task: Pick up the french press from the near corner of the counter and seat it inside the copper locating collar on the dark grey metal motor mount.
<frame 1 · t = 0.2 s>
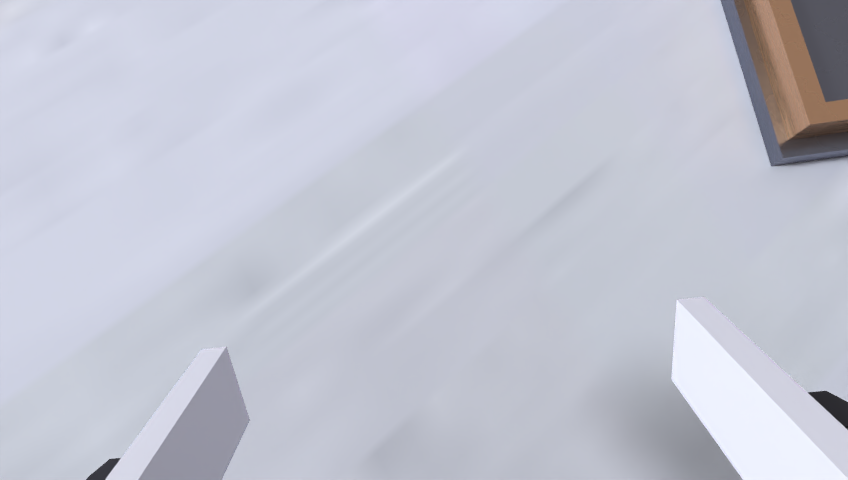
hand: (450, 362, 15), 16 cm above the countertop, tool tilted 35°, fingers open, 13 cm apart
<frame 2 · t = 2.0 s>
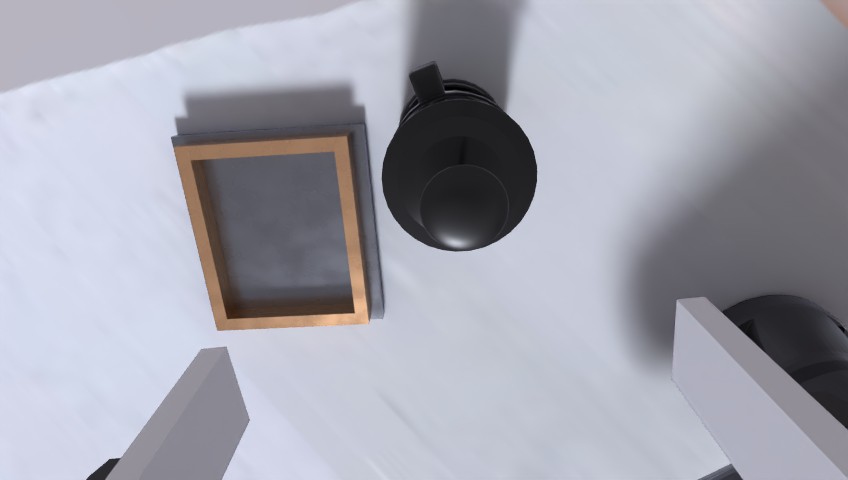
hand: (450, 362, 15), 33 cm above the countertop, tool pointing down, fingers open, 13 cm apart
french press: (449, 128, 45), on the countertop
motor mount: (287, 229, 48), on the countertop
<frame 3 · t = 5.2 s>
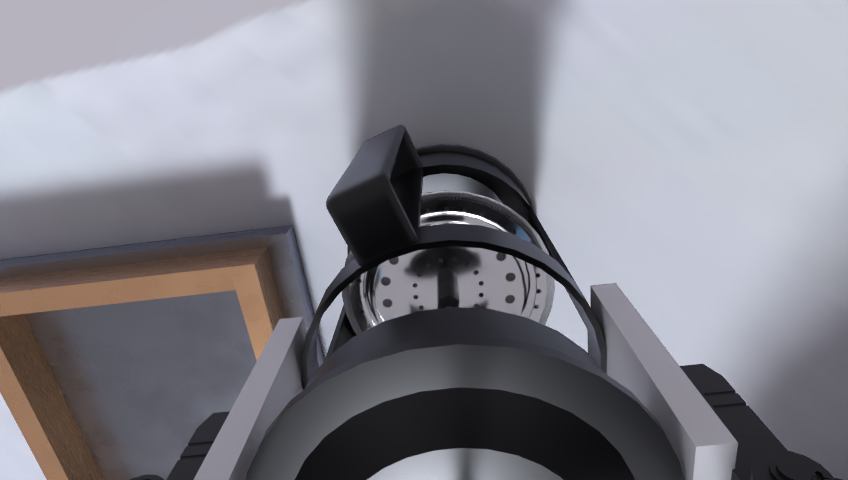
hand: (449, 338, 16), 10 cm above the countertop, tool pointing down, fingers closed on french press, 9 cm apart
french press: (440, 225, 26), on the countertop, touching gripper
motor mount: (187, 392, 30), on the countertop
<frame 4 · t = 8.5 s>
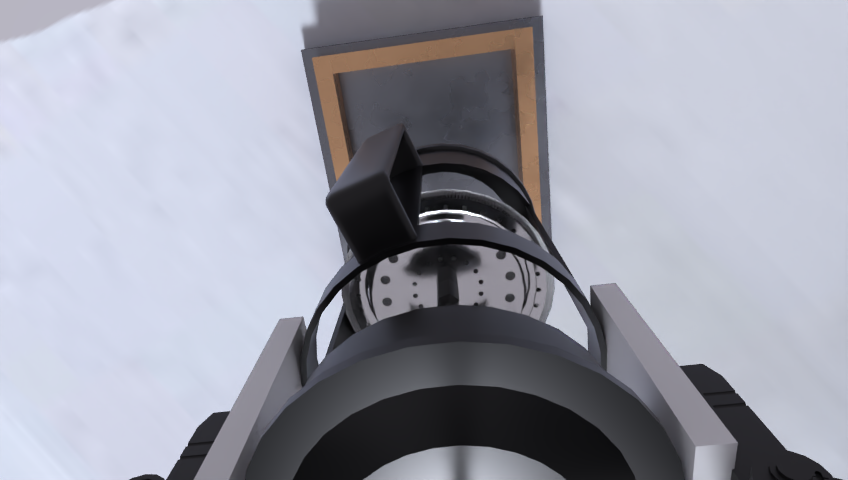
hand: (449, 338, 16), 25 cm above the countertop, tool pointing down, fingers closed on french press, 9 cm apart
french press: (439, 224, 26), point 15 cm above the countertop, touching gripper
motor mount: (436, 162, 40), on the countertop
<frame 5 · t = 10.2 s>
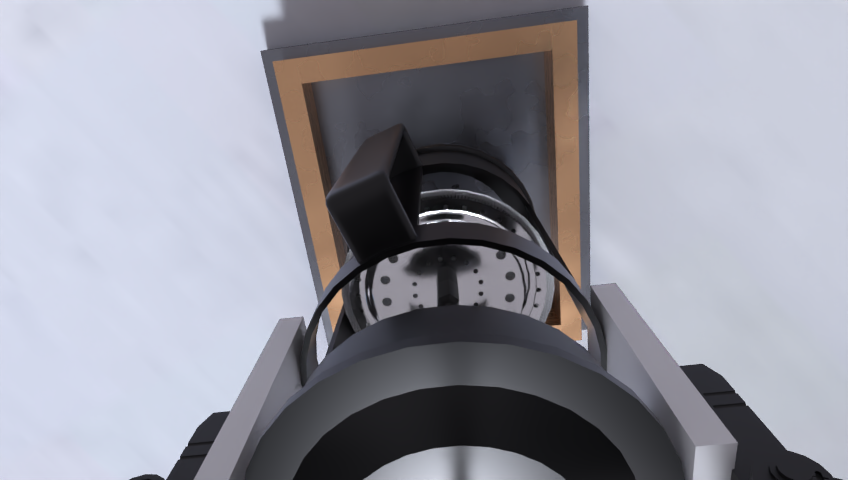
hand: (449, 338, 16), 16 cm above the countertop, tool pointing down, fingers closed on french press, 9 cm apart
french press: (439, 224, 26), point 5 cm above the countertop, touching gripper
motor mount: (441, 197, 30), on the countertop
when the fingers open (13 cm above the countertop, at t = 11.7 s): french press drops 1 cm, resting on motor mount.
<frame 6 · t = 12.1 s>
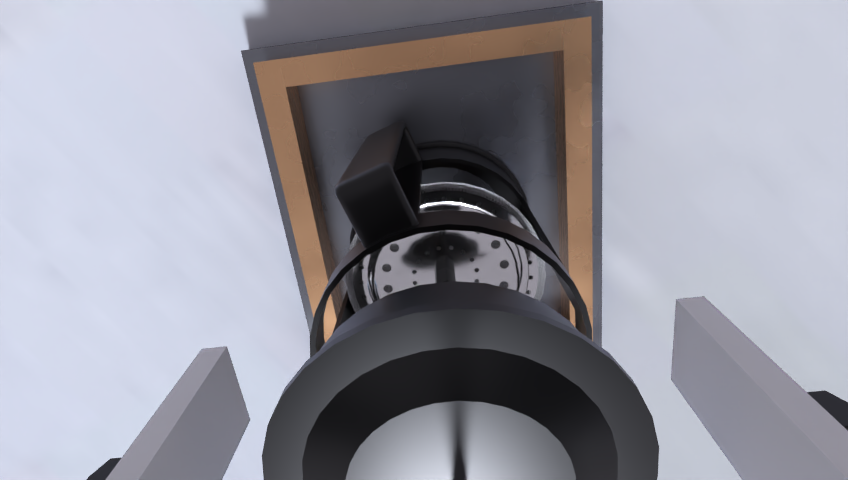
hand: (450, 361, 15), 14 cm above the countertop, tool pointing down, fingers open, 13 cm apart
french press: (437, 217, 27), point 1 cm above the countertop, touching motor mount
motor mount: (440, 210, 28), on the countertop
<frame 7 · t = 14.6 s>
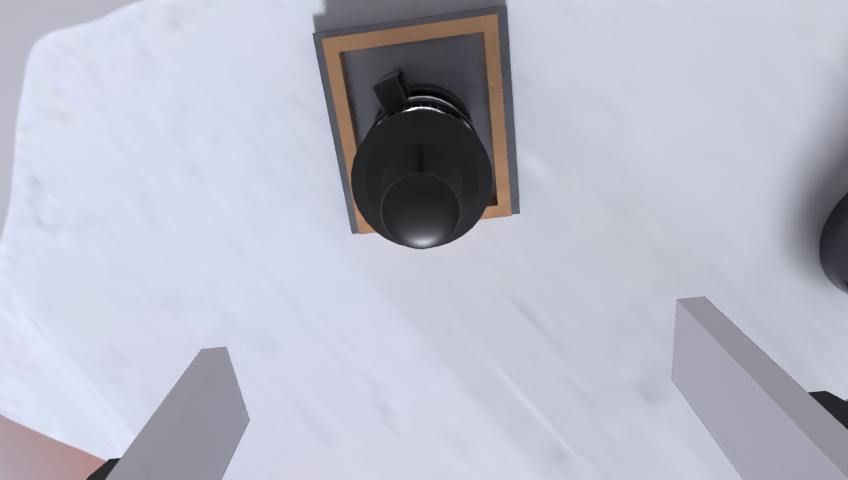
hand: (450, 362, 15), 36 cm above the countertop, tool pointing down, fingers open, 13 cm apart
french press: (420, 129, 47), point 1 cm above the countertop, touching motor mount
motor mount: (422, 127, 48), on the countertop
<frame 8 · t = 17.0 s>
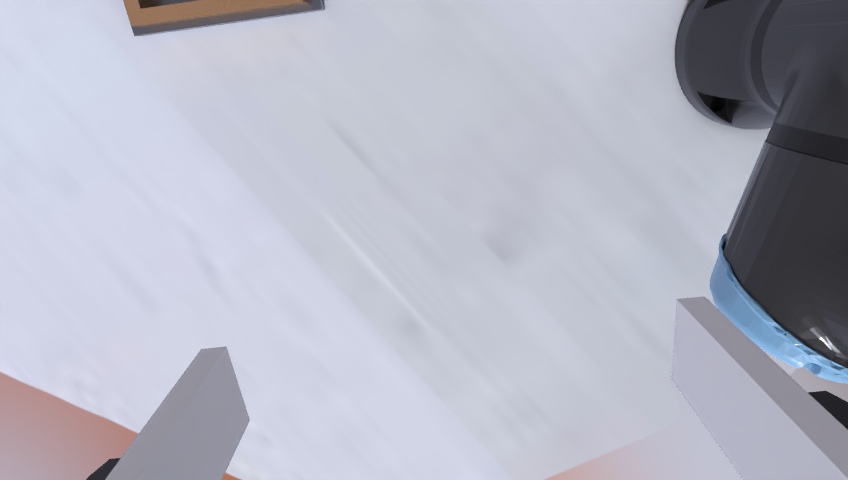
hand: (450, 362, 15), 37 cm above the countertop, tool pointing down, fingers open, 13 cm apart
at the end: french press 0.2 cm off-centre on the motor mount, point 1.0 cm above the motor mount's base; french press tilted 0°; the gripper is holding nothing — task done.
